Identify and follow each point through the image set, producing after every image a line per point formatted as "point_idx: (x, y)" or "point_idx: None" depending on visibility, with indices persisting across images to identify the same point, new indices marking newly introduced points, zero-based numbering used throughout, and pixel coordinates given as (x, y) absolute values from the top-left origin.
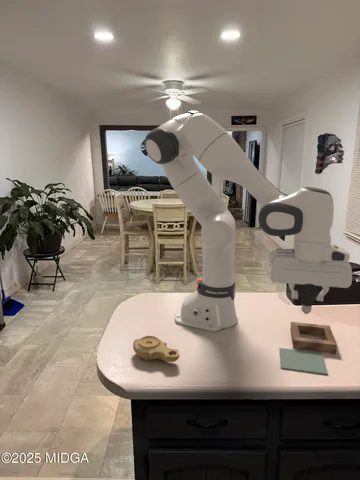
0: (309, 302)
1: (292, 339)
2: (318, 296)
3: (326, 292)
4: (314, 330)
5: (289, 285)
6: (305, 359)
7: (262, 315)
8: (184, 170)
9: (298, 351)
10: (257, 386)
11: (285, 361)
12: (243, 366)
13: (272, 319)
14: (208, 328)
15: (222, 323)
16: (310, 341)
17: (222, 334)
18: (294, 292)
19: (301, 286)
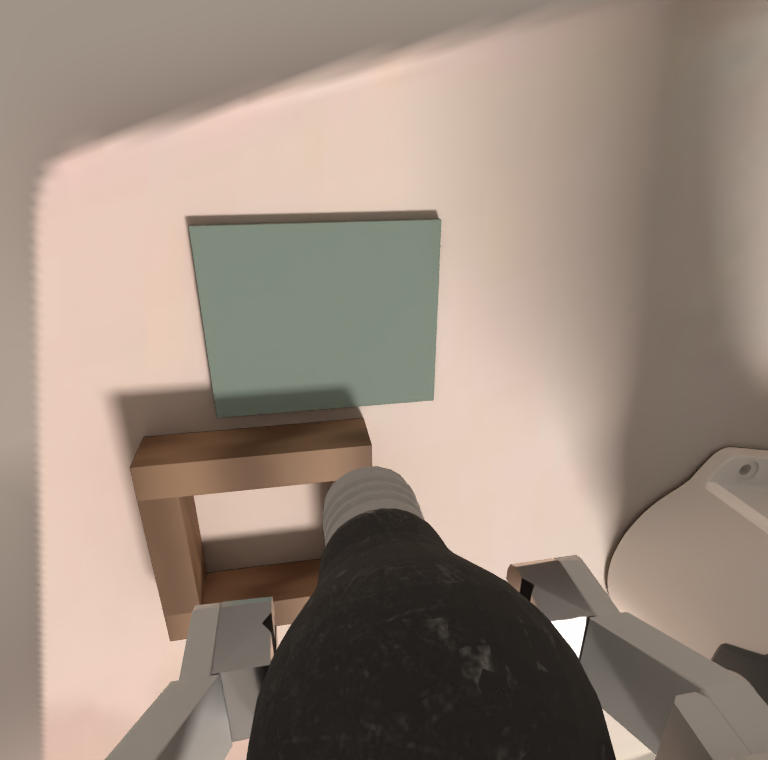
0: (371, 538)
1: None
2: (258, 649)
3: (122, 747)
4: (251, 588)
5: (763, 711)
6: (306, 332)
7: None
8: None
9: (339, 395)
10: (575, 8)
11: (413, 282)
12: (625, 186)
13: None
14: (757, 454)
15: (702, 501)
16: (280, 458)
17: (687, 438)
18: (605, 625)
19: (592, 735)
